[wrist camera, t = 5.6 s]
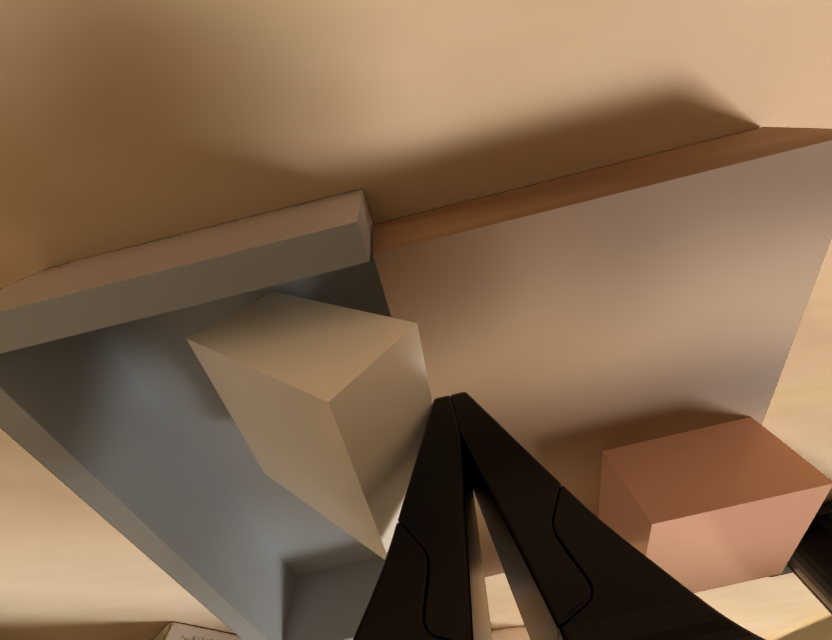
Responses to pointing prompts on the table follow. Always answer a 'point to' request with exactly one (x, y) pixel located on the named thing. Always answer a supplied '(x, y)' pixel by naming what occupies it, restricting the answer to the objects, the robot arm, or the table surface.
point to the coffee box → (192, 633)
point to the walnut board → (618, 295)
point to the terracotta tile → (712, 502)
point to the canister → (511, 634)
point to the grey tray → (191, 410)
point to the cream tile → (325, 404)
